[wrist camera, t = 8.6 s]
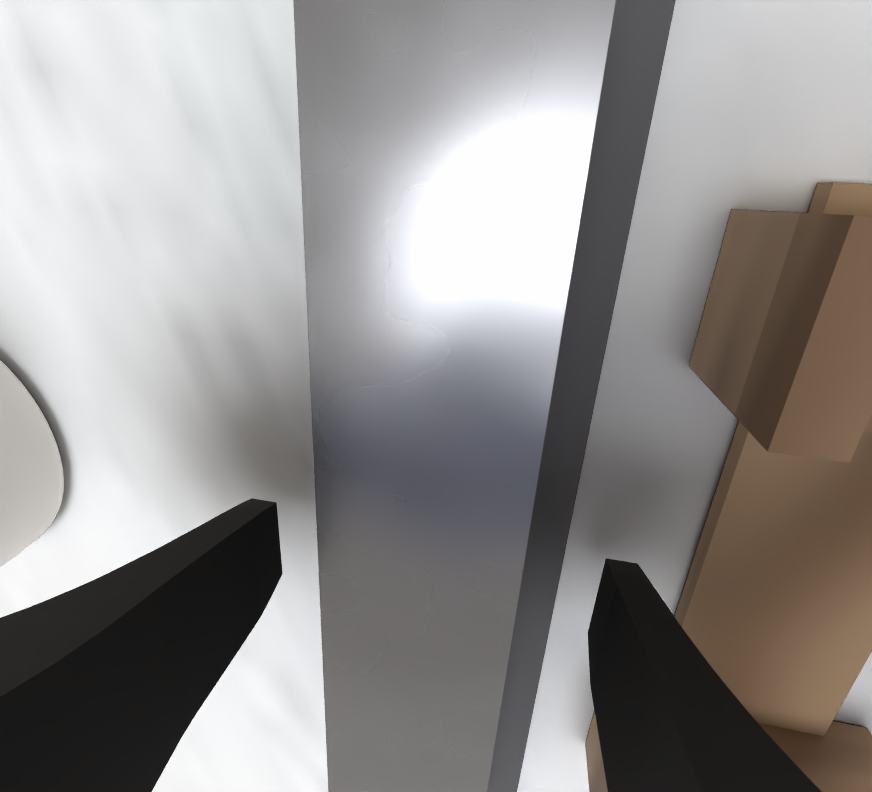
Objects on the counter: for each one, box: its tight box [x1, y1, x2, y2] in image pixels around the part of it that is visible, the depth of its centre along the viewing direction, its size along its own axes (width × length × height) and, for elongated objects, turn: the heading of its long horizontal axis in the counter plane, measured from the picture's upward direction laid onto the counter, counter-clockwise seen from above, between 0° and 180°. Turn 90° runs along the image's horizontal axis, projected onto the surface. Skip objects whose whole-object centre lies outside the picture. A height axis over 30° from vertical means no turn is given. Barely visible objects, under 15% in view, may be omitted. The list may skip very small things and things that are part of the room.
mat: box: [487, 0, 675, 792], centre depth 12 cm, size 6×22×1 cm, turn 177°
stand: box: [585, 182, 872, 792], centre depth 9 cm, size 6×16×4 cm, turn 177°
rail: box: [294, 0, 616, 792], centre depth 10 cm, size 4×20×4 cm, turn 177°
